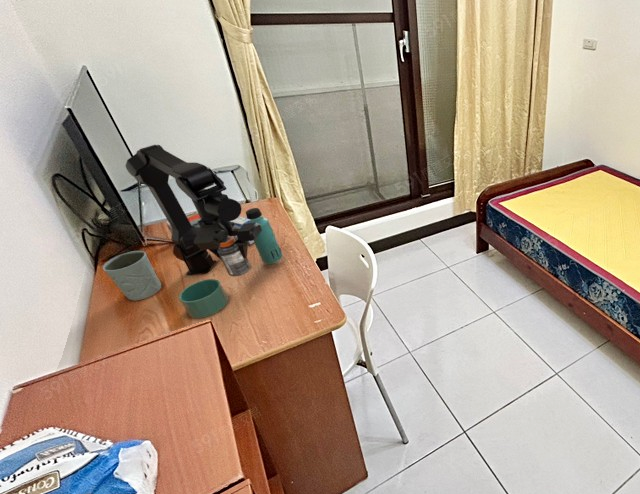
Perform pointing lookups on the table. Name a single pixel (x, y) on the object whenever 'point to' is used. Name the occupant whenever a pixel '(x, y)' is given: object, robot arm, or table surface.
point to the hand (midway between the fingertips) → (234, 258)
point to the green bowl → (203, 298)
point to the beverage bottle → (265, 238)
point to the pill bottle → (233, 258)
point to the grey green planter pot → (133, 275)
